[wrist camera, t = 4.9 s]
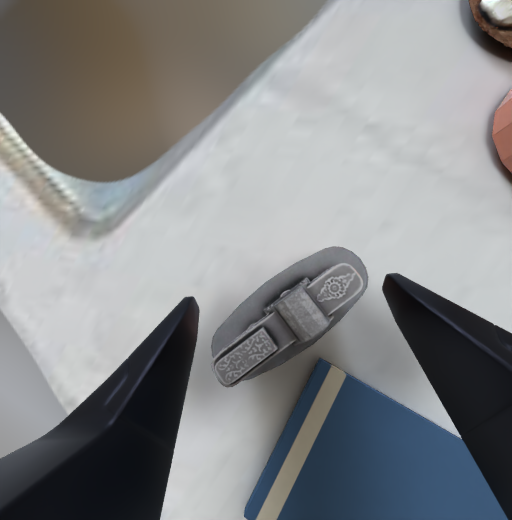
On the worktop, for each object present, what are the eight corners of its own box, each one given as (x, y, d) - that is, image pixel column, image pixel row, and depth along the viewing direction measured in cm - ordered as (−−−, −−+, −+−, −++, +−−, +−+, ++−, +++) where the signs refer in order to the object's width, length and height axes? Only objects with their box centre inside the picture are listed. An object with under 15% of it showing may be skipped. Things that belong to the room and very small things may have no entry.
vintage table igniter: (310, 254, 17) (355, 209, 7) (337, 288, 16) (428, 289, 7) (231, 314, 17) (167, 350, 7) (256, 349, 16) (223, 443, 7)
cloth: (507, 702, 12) (519, 724, 12) (244, 507, 15) (243, 517, 14) (580, 507, 13) (596, 519, 12) (319, 357, 16) (321, 360, 15)
